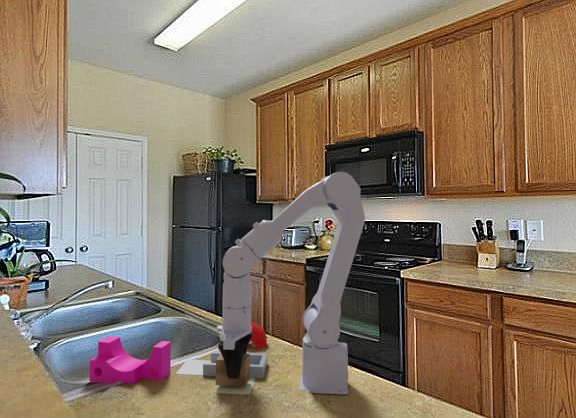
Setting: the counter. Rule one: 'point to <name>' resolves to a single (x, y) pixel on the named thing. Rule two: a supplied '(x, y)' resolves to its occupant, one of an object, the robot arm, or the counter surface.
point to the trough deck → (209, 367)
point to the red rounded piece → (258, 336)
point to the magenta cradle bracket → (128, 363)
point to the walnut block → (222, 374)
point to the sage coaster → (236, 388)
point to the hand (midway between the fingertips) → (235, 372)
